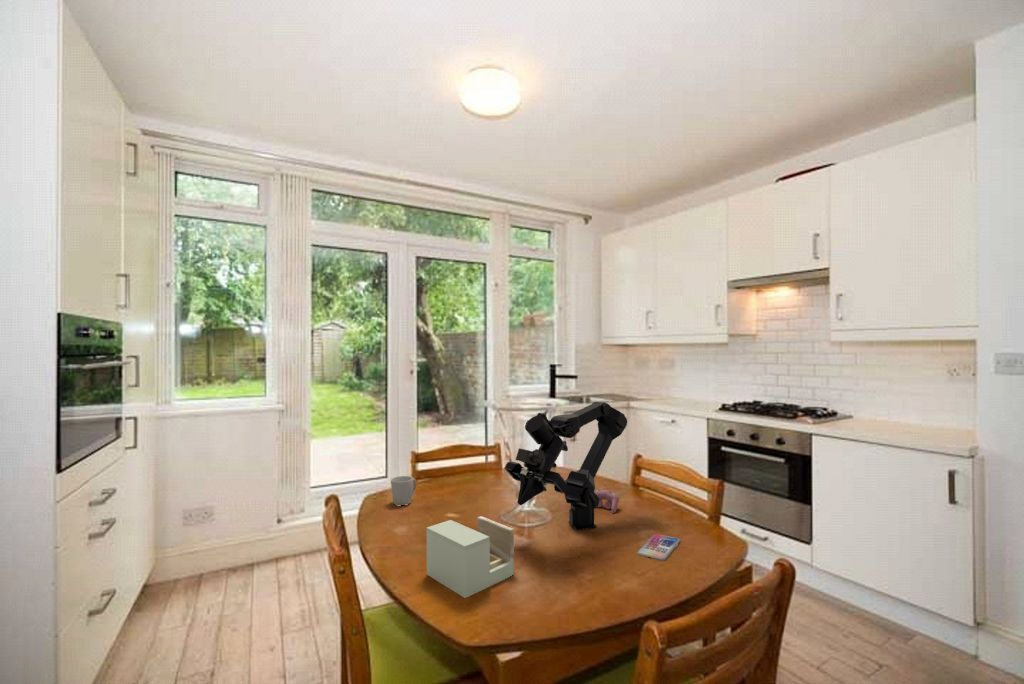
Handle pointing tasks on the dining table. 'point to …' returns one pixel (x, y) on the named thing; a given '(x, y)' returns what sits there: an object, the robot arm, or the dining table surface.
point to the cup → (402, 489)
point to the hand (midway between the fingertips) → (519, 504)
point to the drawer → (498, 541)
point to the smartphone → (659, 547)
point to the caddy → (462, 559)
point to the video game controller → (609, 496)
